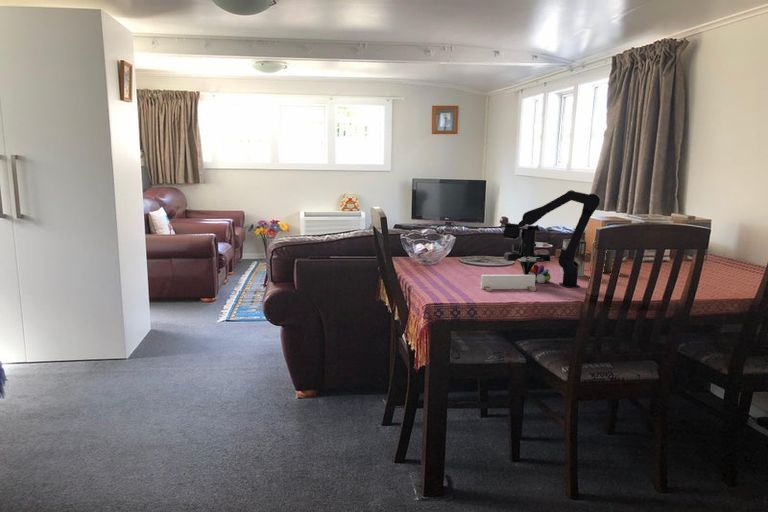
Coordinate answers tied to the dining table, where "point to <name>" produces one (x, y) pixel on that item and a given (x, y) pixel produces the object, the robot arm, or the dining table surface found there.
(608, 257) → the pillar candle
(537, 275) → the pom poms
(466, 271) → the dining table surface
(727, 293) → the dining table surface
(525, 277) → the white rectangular box
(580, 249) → the coffee box
